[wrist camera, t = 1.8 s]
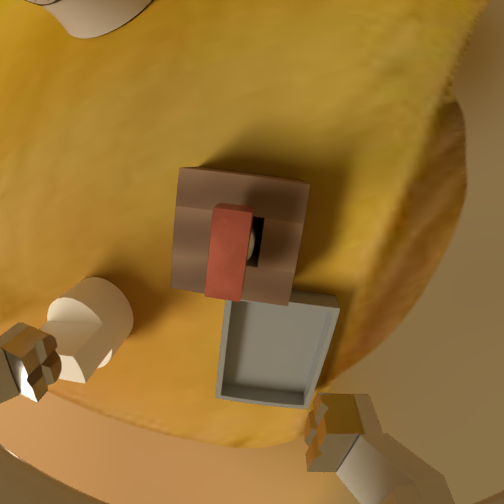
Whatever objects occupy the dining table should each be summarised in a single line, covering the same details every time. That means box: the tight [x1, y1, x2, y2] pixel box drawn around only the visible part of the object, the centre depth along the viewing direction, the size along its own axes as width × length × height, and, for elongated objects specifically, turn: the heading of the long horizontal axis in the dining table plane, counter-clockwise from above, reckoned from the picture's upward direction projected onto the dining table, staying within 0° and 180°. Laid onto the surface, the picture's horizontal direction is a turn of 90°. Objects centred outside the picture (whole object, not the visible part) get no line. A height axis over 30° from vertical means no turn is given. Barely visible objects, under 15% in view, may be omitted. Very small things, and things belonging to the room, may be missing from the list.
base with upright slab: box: [39, 277, 134, 383], centre depth 28 cm, size 9×9×12 cm
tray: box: [215, 290, 340, 409], centre depth 31 cm, size 14×11×3 cm
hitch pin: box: [205, 202, 258, 302], centre depth 24 cm, size 6×3×10 cm, turn 172°
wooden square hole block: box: [171, 167, 310, 306], centre depth 26 cm, size 10×10×6 cm
